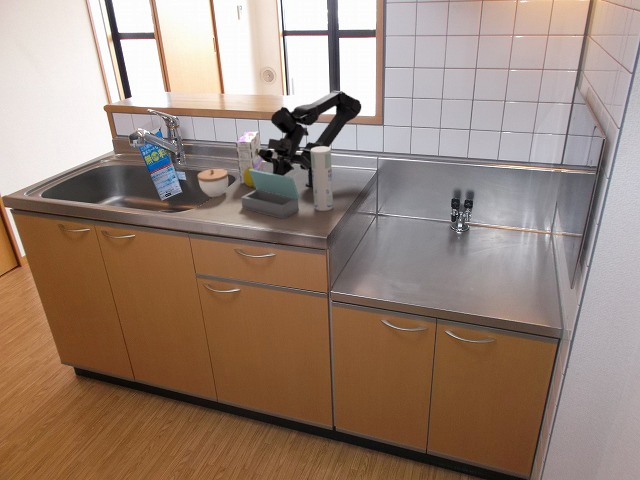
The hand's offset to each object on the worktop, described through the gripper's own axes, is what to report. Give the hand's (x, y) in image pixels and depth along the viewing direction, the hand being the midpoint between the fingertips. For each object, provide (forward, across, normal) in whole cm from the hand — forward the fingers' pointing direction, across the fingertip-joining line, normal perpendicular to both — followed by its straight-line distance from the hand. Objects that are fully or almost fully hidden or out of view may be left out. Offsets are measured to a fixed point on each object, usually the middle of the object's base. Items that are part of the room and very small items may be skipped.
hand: (274, 181), depth 171 cm
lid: (+1, 0, 0) cm, 1 cm away
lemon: (0, -19, +12) cm, 23 cm away
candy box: (-6, -26, +18) cm, 33 cm away
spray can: (+2, +15, +11) cm, 19 cm away
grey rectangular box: (+8, 0, +4) cm, 9 cm away
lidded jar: (+8, -27, +5) cm, 28 cm away
